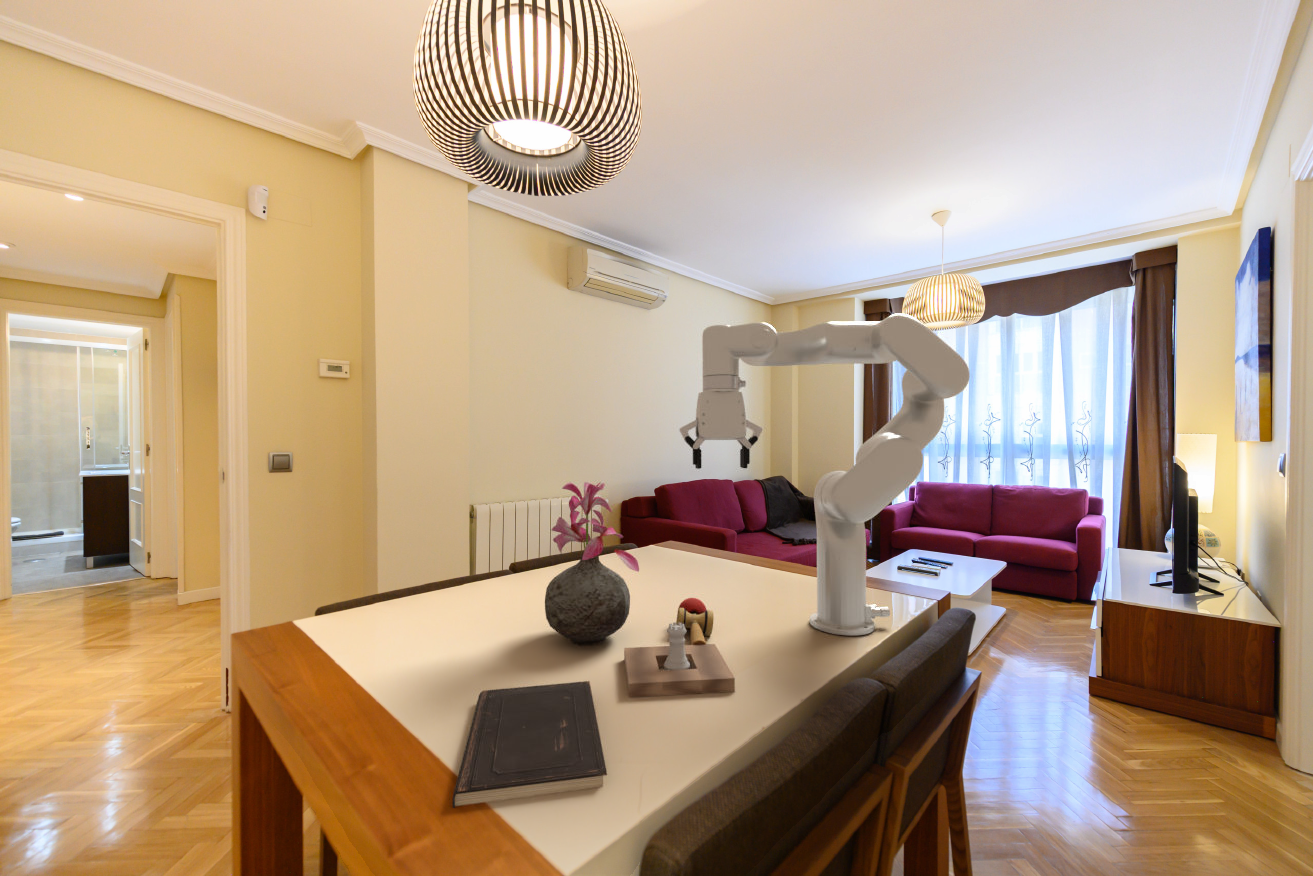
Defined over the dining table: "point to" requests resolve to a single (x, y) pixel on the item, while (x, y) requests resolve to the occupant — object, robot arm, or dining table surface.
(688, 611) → the kendama
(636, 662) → the board
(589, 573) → the vase
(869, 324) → the robot arm
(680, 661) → the rook chess piece
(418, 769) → the dining table surface
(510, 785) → the hardcover book
